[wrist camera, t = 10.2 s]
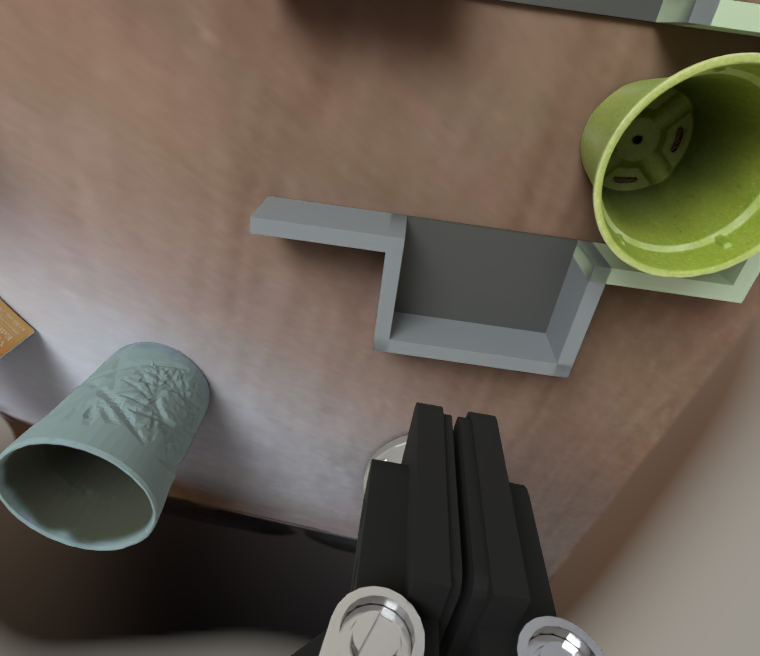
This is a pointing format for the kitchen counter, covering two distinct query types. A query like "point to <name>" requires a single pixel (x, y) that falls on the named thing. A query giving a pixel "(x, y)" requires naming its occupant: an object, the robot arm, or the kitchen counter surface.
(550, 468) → the kitchen counter surface
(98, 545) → the sage green cup
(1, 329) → the small box
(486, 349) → the grey low walled frame
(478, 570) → the robot arm
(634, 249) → the plant pot
